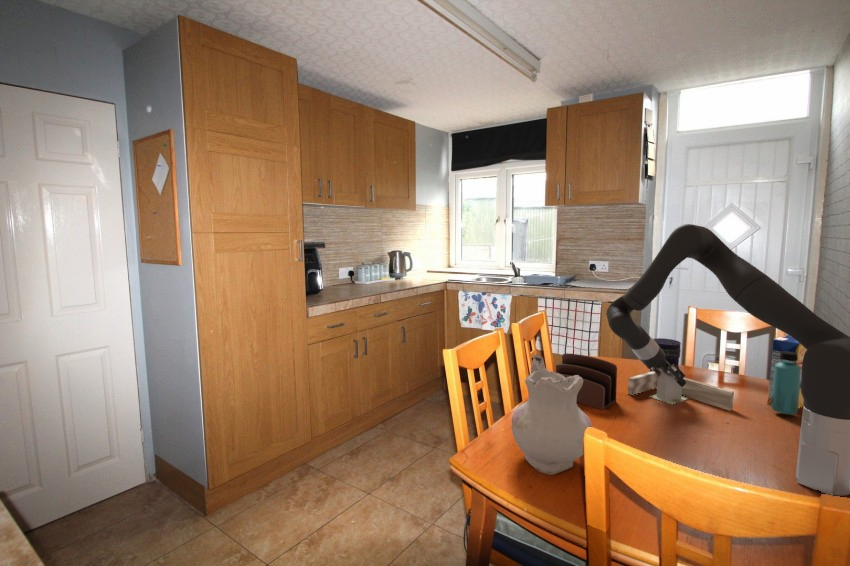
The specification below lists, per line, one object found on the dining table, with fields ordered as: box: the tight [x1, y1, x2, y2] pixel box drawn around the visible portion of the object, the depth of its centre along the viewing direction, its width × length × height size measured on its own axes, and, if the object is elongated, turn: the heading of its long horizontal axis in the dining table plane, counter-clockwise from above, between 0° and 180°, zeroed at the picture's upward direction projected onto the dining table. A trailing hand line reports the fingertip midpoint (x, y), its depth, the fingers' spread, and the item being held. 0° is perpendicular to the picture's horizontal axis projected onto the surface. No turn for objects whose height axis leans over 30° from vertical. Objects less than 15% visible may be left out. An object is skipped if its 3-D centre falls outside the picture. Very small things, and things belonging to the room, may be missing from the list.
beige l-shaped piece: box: [627, 371, 735, 412], centre depth 145 cm, size 17×25×6 cm, turn 30°
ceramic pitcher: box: [511, 353, 593, 476], centre depth 108 cm, size 22×20×25 cm
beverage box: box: [766, 334, 807, 409], centre depth 141 cm, size 7×11×22 cm, turn 120°
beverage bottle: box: [770, 351, 801, 415], centre depth 133 cm, size 6×7×20 cm
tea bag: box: [656, 370, 682, 401], centre depth 147 cm, size 4×7×10 cm, turn 105°
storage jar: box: [649, 337, 682, 372], centre depth 166 cm, size 10×10×15 cm
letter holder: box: [555, 352, 618, 411], centre depth 148 cm, size 10×20×14 cm, turn 44°
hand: (673, 380), depth 148 cm, fingers open, 8 cm apart
